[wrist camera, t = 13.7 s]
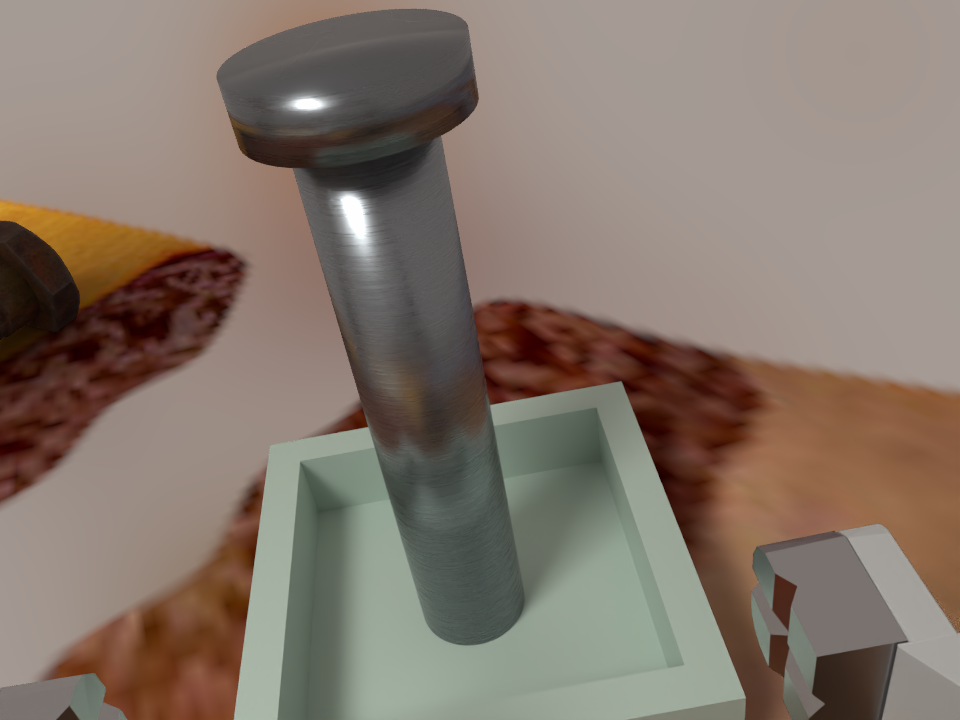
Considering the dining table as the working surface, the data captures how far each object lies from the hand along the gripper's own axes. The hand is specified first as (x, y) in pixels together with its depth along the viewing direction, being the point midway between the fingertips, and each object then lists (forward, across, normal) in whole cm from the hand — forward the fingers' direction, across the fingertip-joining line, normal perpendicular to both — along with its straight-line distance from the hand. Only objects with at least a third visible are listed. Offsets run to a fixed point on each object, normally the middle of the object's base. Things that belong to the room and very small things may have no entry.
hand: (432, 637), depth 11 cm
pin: (+9, 0, +10) cm, 14 cm away
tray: (+9, 0, +11) cm, 14 cm away
